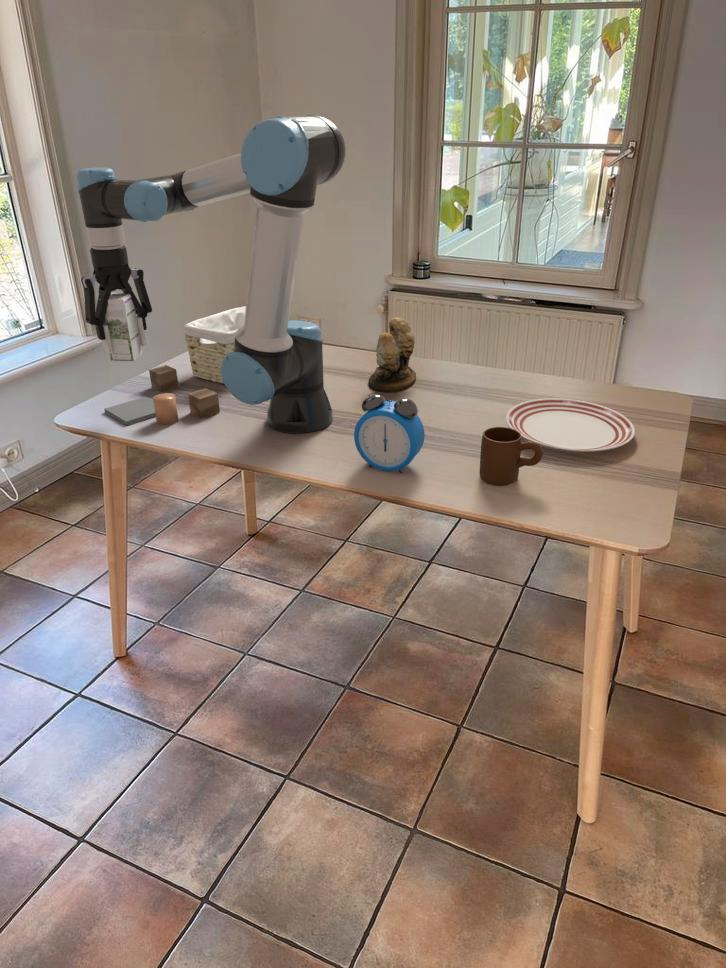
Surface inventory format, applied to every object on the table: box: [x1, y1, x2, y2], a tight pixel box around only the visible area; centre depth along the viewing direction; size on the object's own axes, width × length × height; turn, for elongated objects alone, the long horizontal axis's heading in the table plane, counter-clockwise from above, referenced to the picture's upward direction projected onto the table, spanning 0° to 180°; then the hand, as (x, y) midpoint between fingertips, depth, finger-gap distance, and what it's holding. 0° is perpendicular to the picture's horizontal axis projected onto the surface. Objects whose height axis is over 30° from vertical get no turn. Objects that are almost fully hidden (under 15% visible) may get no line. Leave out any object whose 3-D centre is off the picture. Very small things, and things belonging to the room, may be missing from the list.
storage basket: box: [183, 305, 246, 384], centre depth 197 cm, size 24×16×15 cm
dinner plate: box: [505, 397, 636, 453], centre depth 160 cm, size 28×27×3 cm
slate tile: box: [104, 396, 156, 426], centre depth 174 cm, size 11×11×1 cm
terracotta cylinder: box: [152, 392, 180, 427], centre depth 168 cm, size 5×5×6 cm
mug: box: [479, 426, 544, 487], centre depth 139 cm, size 12×8×9 cm, turn 60°
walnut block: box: [187, 387, 221, 419], centre depth 173 cm, size 5×5×5 cm
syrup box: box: [104, 292, 143, 362], centre depth 165 cm, size 6×6×14 cm
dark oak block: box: [148, 364, 180, 393], centre depth 188 cm, size 5×5×5 cm
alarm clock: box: [353, 393, 426, 474], centre depth 144 cm, size 13×6×15 cm, turn 67°
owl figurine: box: [368, 316, 417, 393], centre depth 187 cm, size 18×12×17 cm, turn 162°
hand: (125, 348), depth 167 cm, fingers closed on syrup box, 8 cm apart
